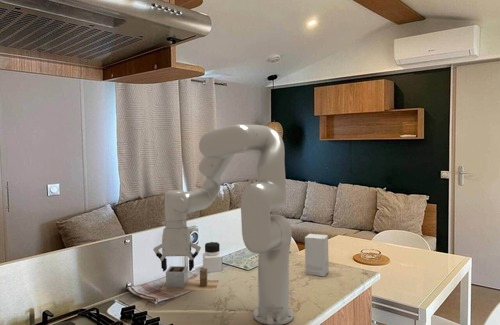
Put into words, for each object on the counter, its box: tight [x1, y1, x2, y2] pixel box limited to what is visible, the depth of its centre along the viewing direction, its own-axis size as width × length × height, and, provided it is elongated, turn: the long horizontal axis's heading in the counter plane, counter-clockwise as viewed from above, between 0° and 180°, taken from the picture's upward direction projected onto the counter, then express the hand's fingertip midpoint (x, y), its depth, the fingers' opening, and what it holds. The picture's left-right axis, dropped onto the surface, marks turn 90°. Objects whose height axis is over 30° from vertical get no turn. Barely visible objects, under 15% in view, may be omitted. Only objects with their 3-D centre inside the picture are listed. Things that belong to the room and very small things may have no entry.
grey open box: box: [165, 265, 189, 289], centre depth 141 cm, size 7×7×6 cm
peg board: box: [159, 267, 220, 292], centre depth 141 cm, size 10×20×7 cm, turn 88°
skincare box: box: [304, 233, 330, 277], centre depth 155 cm, size 8×7×16 cm
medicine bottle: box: [202, 241, 223, 273], centre depth 159 cm, size 7×7×12 cm
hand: (177, 270), depth 141 cm, fingers open, 9 cm apart
